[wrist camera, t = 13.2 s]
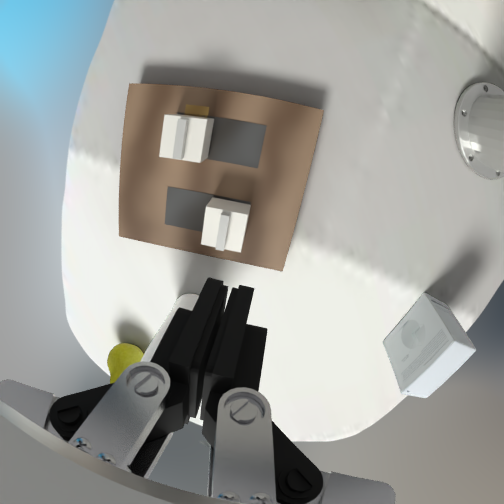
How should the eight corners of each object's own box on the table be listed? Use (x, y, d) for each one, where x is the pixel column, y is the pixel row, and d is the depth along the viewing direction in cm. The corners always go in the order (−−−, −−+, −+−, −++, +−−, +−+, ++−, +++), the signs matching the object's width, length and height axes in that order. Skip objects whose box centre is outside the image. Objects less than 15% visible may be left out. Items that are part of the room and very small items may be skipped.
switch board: (320, 110, 27) (323, 110, 25) (282, 260, 35) (282, 271, 33) (139, 84, 27) (129, 83, 25) (127, 228, 35) (118, 236, 33)
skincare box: (408, 351, 41) (426, 400, 32) (381, 341, 40) (398, 394, 31) (449, 304, 36) (478, 351, 27) (424, 290, 36) (454, 340, 26)
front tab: (214, 118, 26) (204, 119, 22) (207, 157, 28) (197, 164, 24) (175, 114, 26) (161, 114, 22) (170, 152, 28) (155, 158, 24)
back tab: (250, 204, 30) (247, 217, 26) (243, 239, 31) (239, 256, 28) (212, 197, 30) (203, 209, 26) (207, 232, 31) (199, 247, 28)
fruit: (155, 344, 44) (129, 401, 34) (151, 367, 48) (129, 420, 37) (117, 329, 44) (86, 381, 33) (117, 353, 47) (91, 403, 36)
